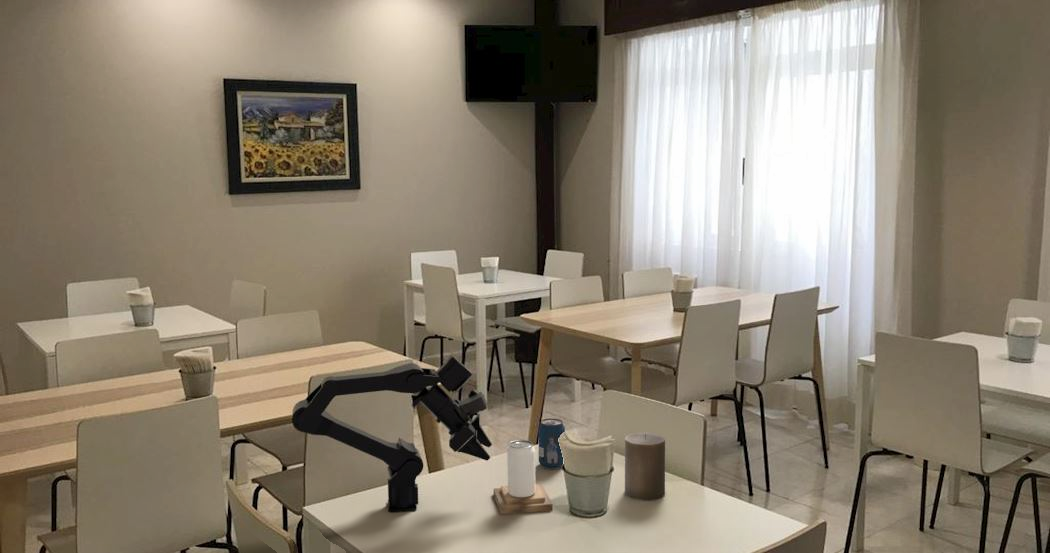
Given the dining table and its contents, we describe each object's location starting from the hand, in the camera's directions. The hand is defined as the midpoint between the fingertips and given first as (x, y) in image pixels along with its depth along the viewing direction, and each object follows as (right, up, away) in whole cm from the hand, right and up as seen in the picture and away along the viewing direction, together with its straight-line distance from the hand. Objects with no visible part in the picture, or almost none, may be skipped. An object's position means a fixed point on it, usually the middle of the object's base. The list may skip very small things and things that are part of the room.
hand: (489, 452), depth 201 cm
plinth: (+8, -12, +2) cm, 14 cm away
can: (+7, -10, +1) cm, 12 cm away
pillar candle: (+37, -11, +7) cm, 40 cm away
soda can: (+15, -9, +26) cm, 32 cm away
